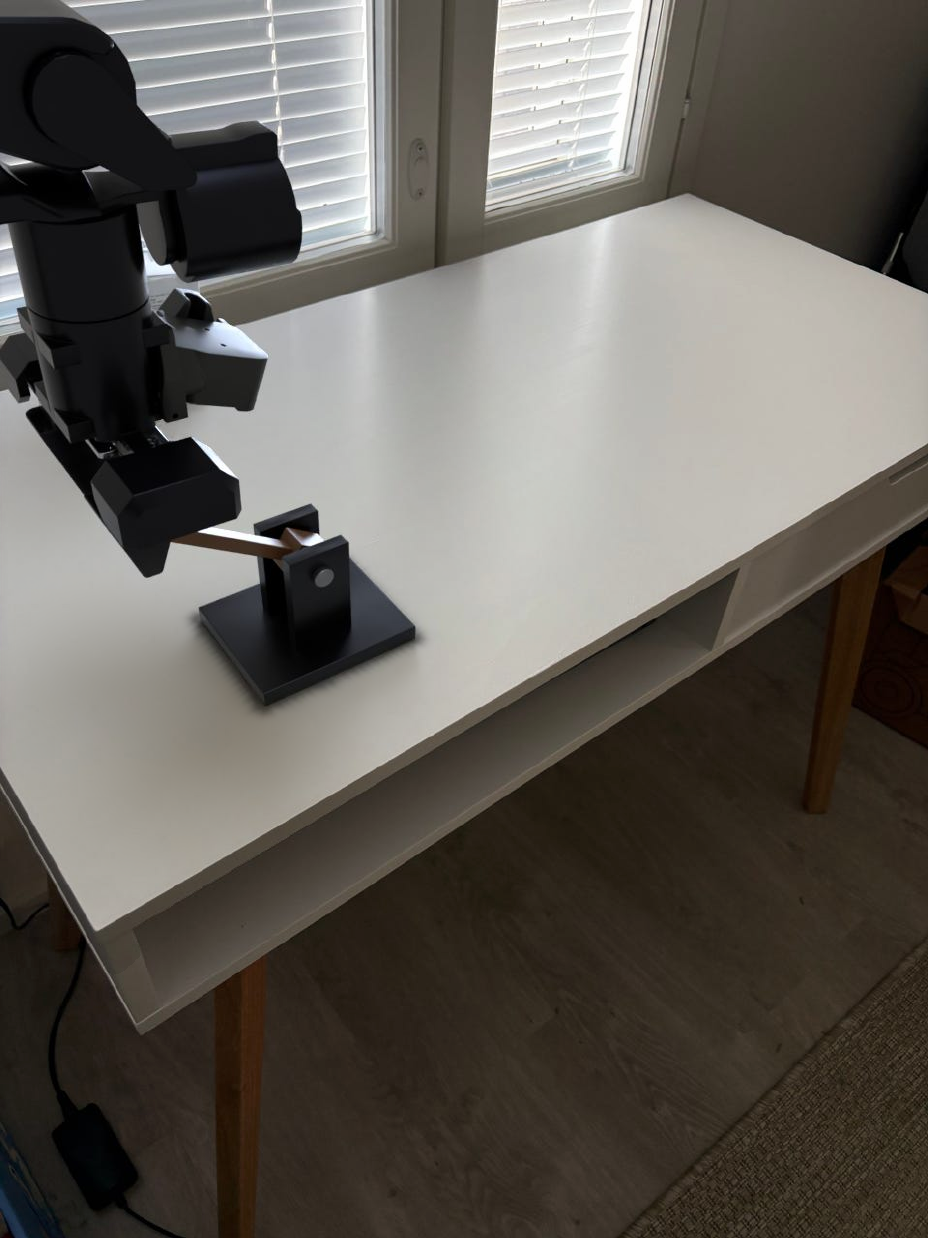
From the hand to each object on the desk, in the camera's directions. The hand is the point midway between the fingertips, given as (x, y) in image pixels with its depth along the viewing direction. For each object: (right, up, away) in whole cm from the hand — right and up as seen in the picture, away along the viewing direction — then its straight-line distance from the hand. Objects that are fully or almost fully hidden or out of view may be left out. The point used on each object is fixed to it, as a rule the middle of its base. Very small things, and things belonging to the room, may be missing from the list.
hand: (134, 549), depth 59 cm
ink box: (-8, +19, +38) cm, 43 cm away
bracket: (+8, -5, +13) cm, 16 cm away
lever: (+4, 0, +4) cm, 6 cm away
